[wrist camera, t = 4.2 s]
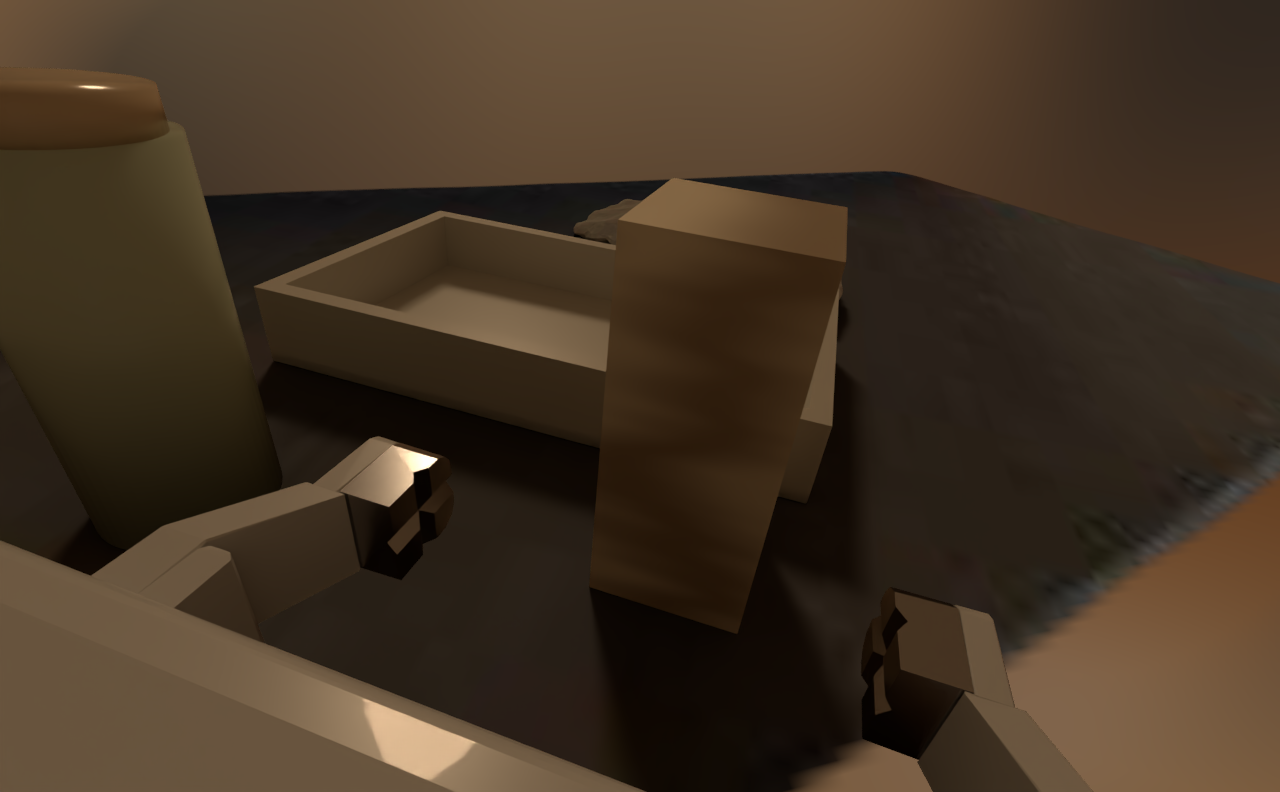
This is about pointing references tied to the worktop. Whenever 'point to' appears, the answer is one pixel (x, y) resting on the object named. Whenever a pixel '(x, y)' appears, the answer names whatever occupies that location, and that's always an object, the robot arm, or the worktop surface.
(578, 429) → the beige tray
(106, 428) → the sage jar
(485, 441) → the worktop surface
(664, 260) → the birch block
